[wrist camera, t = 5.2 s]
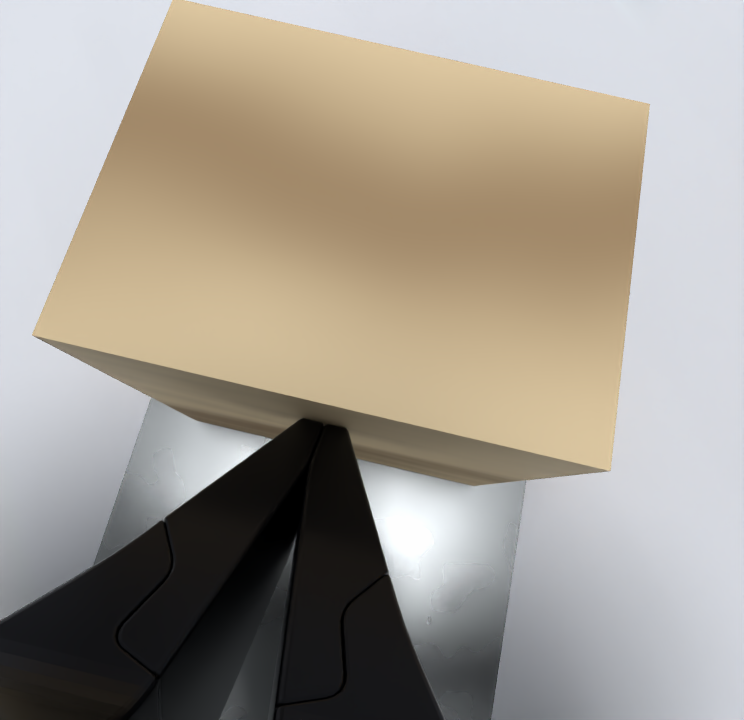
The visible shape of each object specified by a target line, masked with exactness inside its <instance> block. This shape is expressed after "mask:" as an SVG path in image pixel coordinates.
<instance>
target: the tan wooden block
mask: <svg viewBox="0 0 744 720" xmlns="http://www.w3.org/2000/svg"><path fill="white" fill-rule="evenodd" d="M649 107H650V104H647V103H643V102H638V101H634V100H629V99H625V98H620V97H616V96H611V95H607V94H602V93H598V92H593V91H589V90H584V89H580V88H575V87H571V86H566V85H562V84H557V83H553V82H549V81H544V80H540V79H535V78H531V77H526V76H522V75H517V74H513V73H508V72H504V71H499V70H495V69H490V68H486V67H481V66H477V65H472V64H468V63H463V62H459V61H454V60H450V59H445V58H441V57H436V56H432V55H427V54H423V53H418V52H414V51H409V50H405V49H400V48H396V47H391V46H387V45H382V44H378V43H373V42H369V41H364V40H360V39H356V38H351V37H347V36H342V35H338V34H333V33H329V32H324V31H320V30H315V29H311V28H306V27H302V26H297V25H293V24H288V23H284V22H279V21H275V20H270V19H266V18H261V17H257V16H252V15H248V14H243V13H239V12H234V11H230V10H225V9H221V8H216V7H212V6H207V5H203V4H198V3H194V2H189V1H185V0H173V1H172V3H171V5H170V8H169V10H168V12H167V15H166V17H165V20H164V22H163V24H162V27H161V29H160V31H159V34H158V36H157V39H156V41H155V43H154V46H153V48H152V51H151V53H150V55H149V58H148V60H147V62H146V65H145V67H144V70H143V72H142V74H141V77H140V79H139V81H138V84H137V86H136V89H135V91H134V93H133V96H132V98H131V100H130V103H129V105H128V108H127V110H126V112H125V115H124V117H123V120H122V122H121V124H120V127H119V129H118V131H117V134H116V136H115V139H114V141H113V143H112V146H111V148H110V150H109V153H108V155H107V158H106V160H105V162H104V165H103V167H102V170H101V172H100V174H99V177H98V179H97V181H96V184H95V186H94V189H93V191H92V193H91V196H90V198H89V200H88V203H87V205H86V208H85V210H84V212H83V215H82V217H81V220H80V222H79V224H78V227H77V229H76V231H75V234H74V236H73V239H72V241H71V243H70V246H69V248H68V250H67V253H66V255H65V258H64V260H63V262H62V265H61V267H60V269H59V272H58V274H57V277H56V279H55V281H54V284H53V286H52V289H51V291H50V293H49V296H48V298H47V300H46V303H45V305H44V308H43V310H42V312H41V315H40V317H39V319H38V322H37V324H36V327H35V329H34V331H33V334H32V336H34V337H36V338H38V339H40V340H42V341H44V342H46V343H48V344H50V345H52V346H54V347H56V348H57V349H59V350H61V351H63V352H65V353H67V354H69V355H71V356H73V357H75V358H77V359H79V360H81V361H82V362H84V363H86V364H88V365H90V366H92V367H94V368H96V369H98V370H100V371H102V372H104V373H106V374H107V375H109V376H111V377H113V378H115V379H117V380H119V381H121V382H123V383H125V384H127V385H129V386H131V387H132V388H134V389H136V390H138V391H140V392H142V393H144V394H146V395H148V396H150V397H152V398H154V399H156V400H157V401H159V402H161V403H163V404H165V405H167V406H169V407H171V408H173V409H175V410H177V411H179V412H181V413H182V414H184V415H186V416H188V417H190V418H192V419H194V420H196V421H200V422H204V423H208V424H213V425H217V426H221V427H225V428H230V429H234V430H238V431H242V432H247V433H251V434H255V435H259V436H264V437H268V438H272V439H273V438H275V437H276V436H277V435H279V434H280V433H282V432H283V431H284V430H286V429H287V428H288V427H290V426H291V425H293V424H294V423H295V422H297V421H298V420H300V419H302V418H305V419H309V420H314V421H318V422H321V423H323V425H324V426H325V425H326V424H331V425H335V426H339V427H344V428H346V429H347V430H348V432H349V435H350V438H351V442H352V445H353V449H354V452H355V456H356V458H357V459H361V460H365V461H369V462H374V463H378V464H382V465H386V466H390V467H395V468H399V469H403V470H407V471H412V472H416V473H420V474H424V475H429V476H433V477H437V478H441V479H446V480H450V481H454V482H458V483H462V484H467V485H471V486H478V485H488V484H497V483H506V482H515V481H524V480H533V479H542V478H551V477H560V476H570V475H579V474H588V473H597V472H606V471H610V470H611V461H612V451H613V442H614V433H615V424H616V414H617V405H618V396H619V386H620V377H621V368H622V358H623V349H624V340H625V330H626V321H627V312H628V302H629V293H630V284H631V274H632V265H633V256H634V246H635V237H636V228H637V219H638V209H639V200H640V191H641V181H642V172H643V163H644V153H645V144H646V135H647V125H648V116H649Z"/></svg>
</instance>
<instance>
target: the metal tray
mask: <svg viewBox="0 0 744 720" xmlns="http://www.w3.org/2000/svg"><path fill="white" fill-rule="evenodd" d="M271 440H272V438H268V437H264V436H259V435H255V434H251V433H247V432H242V431H238V430H234V429H230V428H225V427H221V426H217V425H213V424H208V423H204V422H200V421H196V420H194V419H192V418H190V417H188V416H186V415H184V414H182V413H181V412H179V411H177V410H175V409H173V408H171V407H169V406H167V405H165V404H163V403H161V402H159V401H157V400H156V399H154V398H152V397H151V400H150V403H149V406H148V409H147V412H146V415H145V417H144V420H143V423H142V426H141V429H140V432H139V435H138V438H137V441H136V443H135V446H134V449H133V452H132V455H131V458H130V461H129V464H128V467H127V470H126V472H125V475H124V478H123V481H122V484H121V487H120V490H119V493H118V496H117V498H116V501H115V504H114V507H113V510H112V513H111V516H110V519H109V522H108V524H107V527H106V530H105V533H104V536H103V539H102V542H101V545H100V548H99V551H98V553H97V556H96V559H95V562H94V565H95V564H97V563H99V562H100V561H102V560H103V559H105V558H107V557H108V556H110V555H112V554H113V553H114V552H116V551H117V550H119V549H120V548H122V547H123V546H125V545H126V544H128V543H129V542H130V541H132V540H133V539H135V538H136V537H138V536H139V535H141V534H142V533H143V532H145V531H146V530H148V529H149V528H150V527H152V526H153V525H155V524H156V523H157V522H159V521H161V520H162V521H164V518H165V517H166V516H167V515H169V514H170V513H171V512H173V511H174V510H176V509H177V508H178V507H180V506H181V505H182V504H184V503H185V502H187V501H188V500H189V499H191V498H192V497H193V496H195V495H196V494H198V493H199V492H200V491H202V490H203V489H204V488H206V487H207V486H209V485H210V484H211V483H213V482H214V481H215V480H217V479H218V478H220V477H221V476H222V475H224V474H225V473H226V472H228V471H229V470H231V469H232V468H233V467H235V466H236V465H237V464H239V463H240V462H242V461H243V460H244V459H246V458H247V457H248V456H250V455H251V454H253V453H254V452H255V451H257V450H258V449H260V448H261V447H262V446H264V445H265V444H266V443H268V442H269V441H271ZM356 459H357V458H356ZM357 463H358V466H359V470H360V473H361V476H362V480H363V483H364V487H365V490H366V494H367V497H368V501H369V504H370V508H371V511H372V515H373V518H374V522H375V525H376V529H377V532H378V536H379V539H380V543H381V546H382V550H383V553H384V557H385V560H386V563H387V567H388V570H389V574H388V575H390V577H391V580H392V583H393V587H394V590H395V594H396V597H397V600H398V603H399V606H400V610H401V613H402V616H403V619H404V622H405V625H406V628H407V630H408V633H409V635H410V638H411V640H412V643H413V645H414V648H415V650H416V653H417V655H418V658H419V660H420V663H421V665H422V667H423V670H424V672H425V674H426V676H427V679H428V681H429V683H430V686H431V688H432V690H433V693H434V695H435V697H436V699H437V702H438V704H439V706H440V709H441V711H442V713H443V716H444V718H445V720H491V715H492V708H493V701H494V695H495V688H496V681H497V674H498V667H499V661H500V654H501V647H502V640H503V634H504V627H505V620H506V613H507V607H508V600H509V593H510V586H511V580H512V573H513V566H514V559H515V553H516V546H517V539H518V532H519V526H520V519H521V512H522V505H523V499H524V492H525V485H526V480H524V481H515V482H506V483H497V484H488V485H478V486H471V485H467V484H462V483H458V482H454V481H450V480H446V479H441V478H437V477H433V476H429V475H424V474H420V473H416V472H412V471H407V470H403V469H399V468H395V467H390V466H386V465H382V464H378V463H374V462H369V461H365V460H361V459H357ZM295 540H296V539H295ZM294 546H295V542H294ZM294 546H293V548H292V551H291V553H290V556H289V558H288V561H287V563H286V565H285V568H284V570H283V572H282V574H281V577H280V579H279V581H278V584H277V586H276V588H275V591H274V593H273V595H272V598H271V600H270V602H269V605H268V607H267V609H266V612H265V614H264V616H263V619H262V621H261V623H260V626H259V628H258V630H257V633H256V635H255V637H254V640H253V642H252V644H251V647H250V649H249V651H248V654H247V656H246V658H245V661H244V663H243V665H242V668H241V670H240V672H239V675H238V677H237V679H236V682H235V684H234V686H233V689H232V691H231V693H230V696H229V698H228V700H227V703H226V705H225V707H224V710H223V712H222V714H221V717H220V719H219V720H268V714H269V707H270V700H271V694H272V687H273V681H274V674H275V668H276V661H277V655H278V648H279V642H280V635H281V629H282V622H283V616H284V609H285V603H286V596H287V590H288V583H289V577H290V570H291V564H292V557H293V551H294ZM94 565H93V566H94Z"/></svg>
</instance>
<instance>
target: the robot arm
mask: <svg viewBox="0 0 744 720" xmlns="http://www.w3.org/2000/svg"><path fill="white" fill-rule="evenodd" d="M295 539H296V540H295ZM294 542H295V546H294ZM293 546H294V551H293V557H292V564H291V570H290V577H289V583H288V590H287V596H286V603H285V609H284V616H283V622H282V629H281V635H280V642H279V648H278V655H277V661H276V668H275V674H274V681H273V687H272V694H271V700H270V707H269V714H268V720H445V718H444V716H443V713H442V711H441V709H440V706H439V704H438V702H437V699H436V697H435V695H434V693H433V690H432V688H431V686H430V683H429V681H428V679H427V676H426V674H425V672H424V670H423V667H422V665H421V663H420V660H419V658H418V655H417V653H416V650H415V648H414V645H413V643H412V640H411V638H410V635H409V633H408V630H407V628H406V625H405V622H404V619H403V616H402V613H401V610H400V606H399V603H398V600H397V597H396V594H395V590H394V587H393V583H392V580H391V577H390V575H388V574H389V570H388V567H387V563H386V560H385V557H384V553H383V550H382V546H381V543H380V539H379V536H378V532H377V529H376V525H375V522H374V518H373V515H372V511H371V508H370V504H369V501H368V497H367V494H366V490H365V487H364V483H363V480H362V476H361V473H360V470H359V466H358V463H357V459H356V456H355V452H354V449H353V445H352V442H351V438H350V435H349V432H348V430H347V429H346V428H344V427H339V426H335V425H331V424H326V425H325V426H324V425H323V423H321V422H318V421H314V420H309V419H305V418H302V419H300V420H298V421H297V422H295V423H294V424H293V425H291V426H290V427H288V428H287V429H286V430H284V431H283V432H282V433H280V434H279V435H277V436H276V437H275V438H273V439H272V440H271V441H269V442H268V443H266V444H265V445H264V446H262V447H261V448H260V449H258V450H257V451H255V452H254V453H253V454H251V455H250V456H248V457H247V458H246V459H244V460H243V461H242V462H240V463H239V464H237V465H236V466H235V467H233V468H232V469H231V470H229V471H228V472H226V473H225V474H224V475H222V476H221V477H220V478H218V479H217V480H215V481H214V482H213V483H211V484H210V485H209V486H207V487H206V488H204V489H203V490H202V491H200V492H199V493H198V494H196V495H195V496H193V497H192V498H191V499H189V500H188V501H187V502H185V503H184V504H182V505H181V506H180V507H178V508H177V509H176V510H174V511H173V512H171V513H170V514H169V515H167V516H166V517H165V518H164V521H162V520H161V521H159V522H157V523H156V524H155V525H153V526H152V527H150V528H149V529H148V530H146V531H145V532H143V533H142V534H141V535H139V536H138V537H136V538H135V539H133V540H132V541H130V542H129V543H128V544H126V545H125V546H123V547H122V548H120V549H119V550H117V551H116V552H114V553H113V554H112V555H110V556H108V557H107V558H105V559H103V560H102V561H100V562H99V563H97V564H95V565H94V566H92V567H90V568H89V569H87V570H86V571H84V572H82V573H81V574H79V575H77V576H76V577H74V578H72V579H71V580H69V581H67V582H66V583H64V584H62V585H61V586H59V587H57V588H55V589H54V590H52V591H50V592H49V593H47V594H45V595H43V596H42V597H40V598H38V599H37V600H35V601H33V602H32V603H30V604H28V605H26V606H25V607H23V608H21V609H20V610H18V611H16V612H14V613H13V614H11V615H9V616H8V617H6V618H4V619H2V620H1V621H0V720H219V719H220V717H221V714H222V712H223V710H224V707H225V705H226V703H227V700H228V698H229V696H230V693H231V691H232V689H233V686H234V684H235V682H236V679H237V677H238V675H239V672H240V670H241V668H242V665H243V663H244V661H245V658H246V656H247V654H248V651H249V649H250V647H251V644H252V642H253V640H254V637H255V635H256V633H257V630H258V628H259V626H260V623H261V621H262V619H263V616H264V614H265V612H266V609H267V607H268V605H269V602H270V600H271V598H272V595H273V593H274V591H275V588H276V586H277V584H278V581H279V579H280V577H281V574H282V572H283V570H284V568H285V565H286V563H287V561H288V558H289V556H290V553H291V551H292V548H293Z"/></svg>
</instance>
